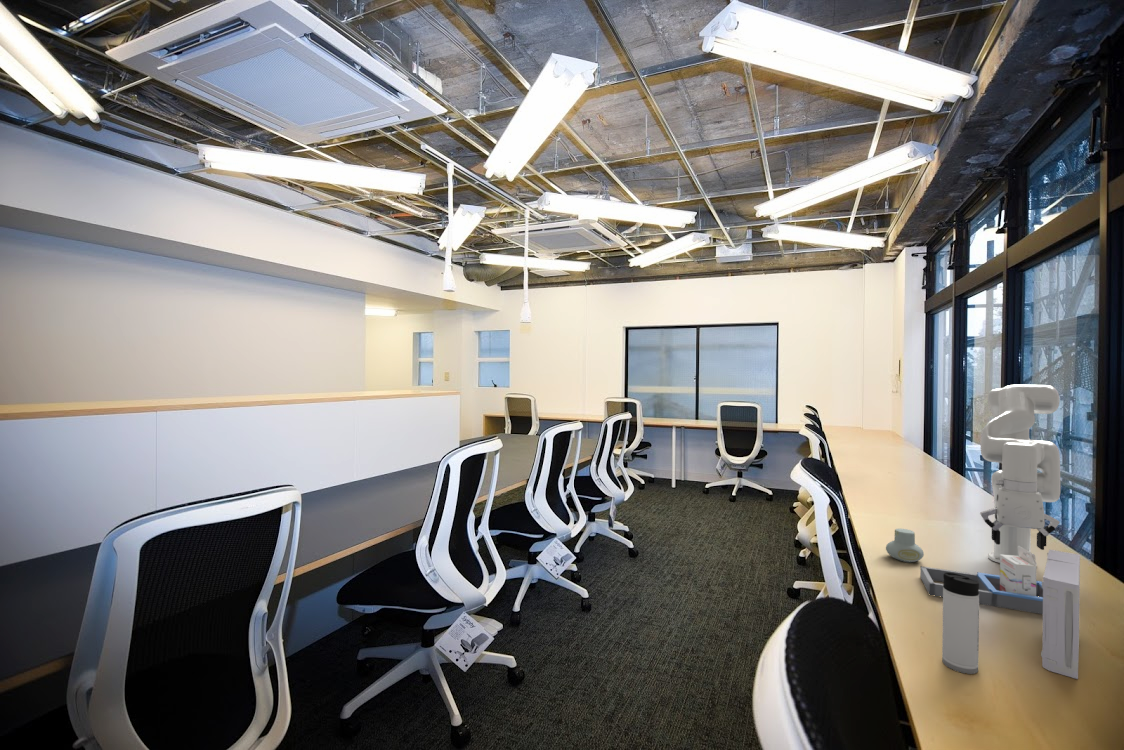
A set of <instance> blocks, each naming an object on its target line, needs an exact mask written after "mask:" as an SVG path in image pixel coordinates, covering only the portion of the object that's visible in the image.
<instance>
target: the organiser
mask: <svg viewBox="0 0 1124 750" xmlns="http://www.w3.org/2000/svg"><path fill="white" fill-rule="evenodd" d="M919 569H920V571H919V572H920V576H919V577H920V579H921V581H922V583H923V585H924V587H925V589H926V591H927V594H928V595H929V594H930V595H935V596H934V597H936V596H941V597H940V598H942V597H943V584H944V582H943V575H944V573H955V574H959V575H963V576H966V577H969V579H972V580H974V581H977V582H979V590H978V591H979V605H985V606H990V607H998V608H1003V609H1008V610H1016V611H1020V612H1021V611H1022V612H1027V613H1033V614H1040V615H1043V588H1042V582H1043V580H1042V581H1040V580H1036V596H1031V595H1025V594H1018V593H1012V592H1005V591H1000V574H992V573H986V572H977V573H970V572H964V571H963V572H962V571H957V570H950V569H943V568H935V567H930V566H922V565H920V568H919ZM939 582H941V583H939ZM930 595H929V596H930ZM1038 596H1039V597H1038Z"/></svg>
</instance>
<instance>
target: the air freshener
mask: <svg viewBox="0 0 1124 750" xmlns="http://www.w3.org/2000/svg"><path fill="white" fill-rule="evenodd" d="M885 551H886V553H887V554H888V555H890V557H891V558H893V559H895V560H897V561H900V562H903V563H914V562H919V561H920V560H921V559H923V557H924V551H923V549H922V548H921V546H919V545H918V544H916V533H915V531H913V530H911V529H908V528H895V529H894V540H892V541H889V542H888V543H887V544H886V546H885Z"/></svg>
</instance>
